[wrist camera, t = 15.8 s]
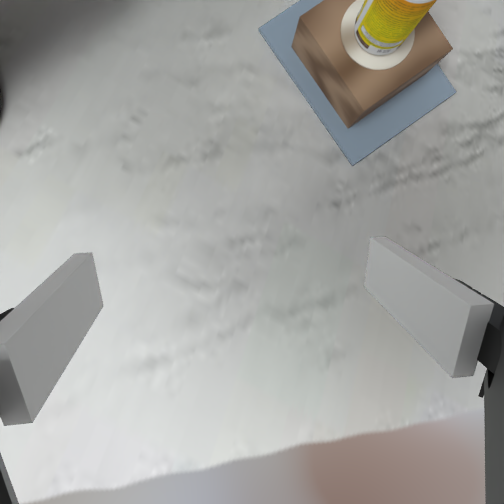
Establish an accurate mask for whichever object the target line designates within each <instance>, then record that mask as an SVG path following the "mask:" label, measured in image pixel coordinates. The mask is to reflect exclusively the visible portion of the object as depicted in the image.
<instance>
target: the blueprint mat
mask: <svg viewBox="0 0 504 504" xmlns="http://www.w3.org/2000/svg"><path fill="white" fill-rule="evenodd" d="M322 1H323V0H300V1H298V2H297V3H295V4H294V5H292V6H291V7H289V8H288V9H287V10H285V11H284V12H282V13H281V14H279V15H278V16H276V17H275V18H273V19H272V20H270V21H269V22H267V23H266V24H264V25H263V26H261V27H260V28H259V32H260V33H261V35H262V36H263V38H264V39H265V41H266V42H267V44H268V45H269V46H270V48H271V49H272V51H273V52H274V54H275V55H276V57H277V58H278V59H279V61H280V62H281V64H282V65H283V67H284V68H285V70H286V71H287V72H288V74H289V75H290V77H291V78H292V80H293V81H294V83H295V84H296V85H297V87H298V88H299V90H300V91H301V93H302V94H303V96H304V97H305V98H306V100H307V101H308V103H309V104H310V106H311V107H312V109H313V110H314V111H315V113H316V114H317V116H318V117H319V119H320V120H321V122H322V123H323V124H324V126H325V127H326V129H327V130H328V132H329V133H330V135H331V136H332V138H333V139H334V140H335V142H336V143H337V145H338V146H339V148H340V149H341V151H342V152H343V153H344V155H345V156H346V158H347V159H348V161H349V162H350V164H351V165H352V166H353V165H354V164H356V163H357V162H359V161H360V160H361V159H363V158H364V157H366V156H367V155H368V154H370V153H371V152H373V151H374V150H375V149H377V148H378V147H380V146H381V145H383V144H384V143H385V142H387V141H388V140H390V139H391V138H392V137H394V136H395V135H397V134H398V133H399V132H401V131H402V130H404V129H405V128H406V127H408V126H409V125H411V124H412V123H414V122H415V121H416V120H418V119H419V118H421V117H422V116H423V115H425V114H426V113H428V112H429V111H430V110H432V109H433V108H435V107H436V106H437V105H439V104H440V103H442V102H443V101H445V100H446V99H447V98H449V97H450V96H452V95H453V94H454V93H456V91H455V89H454V88H453V86H452V85H451V83H450V82H449V80H448V79H447V77H446V76H445V74H444V73H443V71H442V70H441V68H440V67H439V66H438V64H436V65H435V66H434V67H433V68H432V69H431V70H430V71H429V72H427V73H426V74H425V75H424V76H422V77H421V78H420V79H418V80H417V81H415V82H414V83H412V84H411V85H410V86H408V87H407V88H405V89H404V90H402V91H401V92H400V93H398V94H397V95H395V96H394V97H392V98H391V99H390V100H388V101H387V102H385V103H384V104H383V105H381V106H380V107H378V108H377V109H375V110H374V111H373V112H371V113H370V114H368V115H367V116H365V117H364V118H363V119H361V120H360V121H358V122H357V123H356V124H354V125H353V126H351V127H350V128H347V127H346V125H345V124H344V123H343V121H342V120H341V118H340V117H339V115H338V114H337V112H336V111H335V109H334V108H333V107H332V105H331V104H330V102H329V101H328V99H327V98H326V96H325V95H324V93H323V92H322V91H321V89H320V88H319V86H318V85H317V83H316V82H315V80H314V79H313V78H312V76H311V75H310V73H309V72H308V70H307V69H306V67H305V66H304V64H303V63H302V62H301V60H300V59H299V57H298V56H297V54H296V53H295V51H294V50H293V49H292V47H291V46H292V43H293V39H294V35H295V32H296V28H297V24H298V21H299V17H300V16H301V15H303V14H304V13H306V12H307V11H309V10H310V9H312V8H313V7H315V6H316V5H317V4H319V3H320V2H322Z"/></svg>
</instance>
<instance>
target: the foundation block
mask: <svg viewBox="0 0 504 504" xmlns="http://www.w3.org/2000/svg"><path fill="white" fill-rule="evenodd" d="M364 1H365V0H323V1H322V2H320V3H319V4H317V5H316V6H315V7H313V8H312V9H310V10H309V11H307V12H306V13H304V14H303V15H301V16H300V17H299V21H298V24H297V28H296V32H295V35H294V39H293V43H292V46H291V47H292V49H293V50H294V51H295V53H296V54H297V56H298V57H299V59H300V60H301V62H302V63H303V64H304V66H305V67H306V69H307V70H308V72H309V73H310V75H311V76H312V78H313V79H314V80H315V82H316V83H317V85H318V86H319V88H320V89H321V91H322V92H323V93H324V95H325V96H326V98H327V99H328V101H329V102H330V104H331V105H332V107H333V108H334V109H335V111H336V112H337V114H338V115H339V117H340V118H341V120H342V121H343V123H344V124H345V125H346V127H347V128H350V127H351V126H353V125H354V124H356V123H357V122H358V121H360V120H361V119H363V118H364V117H365V116H367V115H368V114H370V113H371V112H373V111H374V110H375V109H377V108H378V107H380V106H381V105H383V104H384V103H385V102H387V101H388V100H390V99H391V98H392V97H394V96H395V95H397V94H398V93H400V92H401V91H402V90H404V89H405V88H407V87H408V86H410V85H411V84H412V83H414V82H415V81H417V80H418V79H420V78H421V77H422V76H424V75H425V74H426V73H427V72H429V71H430V70H431V69H432V68H433V67H434V66H435V65H436V64H437V63H438V62H439V61H440V60H441V59H442V58H444V57H445V56H446V55H447V54H448V53H449V52H450V51H451V50H452V49H453V48H452V47H451V45H450V44H449V42H448V41H447V39H446V38H445V36H444V35H443V33H442V32H441V30H440V29H439V27H438V26H437V24H436V23H435V21H434V20H433V18H432V17H431V15H430V14H429V12H427V13H426V14H425V16H424V17H423V18H422V19H421V21H420V22H419V23H418V24H417V26H416V27H415V28H414V29H413V31H412V32H411V33H410V34H409V36H408V37H407V38H406V39H405V41H404V42H403V43H402V44H401V46H400V47H399V48H398V49H396V50H395V51H394V52H392V53H390V54H387V55H374V54H371V53H368V52H367V51H365V50H364V49H363V48H362V47H361V46H360V45H359V43H358V41H357V39H356V37H355V31H354V26H355V20H356V17H357V15H358V13H359V11H360V9H361V7H362V5H363V3H364Z"/></svg>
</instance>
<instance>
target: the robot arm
mask: <svg viewBox="0 0 504 504" xmlns="http://www.w3.org/2000/svg"><path fill="white" fill-rule="evenodd" d="M0 112H1V91H0ZM364 287H365V288H366V290H367V291H368V292H369V293H370V294H371V295H372V296H373V297H374V298H375V299H376V300H377V301H378V302H379V303H380V304H381V305H382V306H383V307H384V308H385V309H386V310H387V311H388V312H389V313H390V314H391V315H392V316H393V317H394V318H395V319H396V321H397V322H398V323H399V324H400V325H401V326H402V327H403V328H404V329H405V330H406V331H407V332H408V333H409V334H410V335H411V336H412V337H413V338H414V339H415V340H416V341H417V342H418V343H419V344H420V345H421V346H422V347H423V348H424V349H425V351H426V352H427V353H428V354H429V355H430V356H431V357H432V358H433V359H434V360H435V361H436V362H437V363H438V364H439V365H440V366H441V367H442V368H443V369H444V370H445V371H446V372H447V373H448V374H449V375H450V376H451V377H452V378H457V377H467V376H473V375H474V372H475V368H476V365H477V361H479V362H481V363H482V364H483V365H484V366H485V367H486V368H487V370H486V374H485V377H484V380H483V383H482V387H481V390H480V393H479V397H482V398H483V396H484V408H485V486H486V504H504V307H503V306H501V305H500V304H498V303H496V302H495V301H493V300H491V299H490V298H488V297H487V296H485V295H483V294H481V293H480V292H478V291H477V290H475V289H472V287H470V286H468V285H467V284H465V283H464V282H462V281H459V280H457V279H454V278H452V277H450V276H448V275H447V274H445V273H444V272H442V271H440V270H439V269H437V268H435V267H434V266H432V265H431V264H429V263H427V262H426V261H424V260H423V259H421V258H419V257H418V256H416V255H414V254H413V253H411V252H410V251H408V250H406V249H405V248H403V247H401V246H400V245H398V244H397V243H395V242H393V241H392V240H390V239H389V238H387V237H385V236H381V237H370V243H369V251H368V259H367V267H366V276H365V284H364ZM102 308H103V301H102V297H101V292H100V287H99V282H98V277H97V273H96V268H95V263H94V258H93V254H92V253H76V254H73V255H72V256H71V257H70V258H69V259H68V260H67V261H66V262H65V263H64V264H62V265H61V266H60V267H59V268H58V269H57V270H56V271H55V272H54V273H53V274H52V275H50V276H49V277H48V278H47V279H46V280H45V281H44V282H43V283H42V284H41V285H39V286H38V287H37V288H36V289H35V290H34V291H33V292H32V293H31V294H30V295H29V296H27V297H26V298H25V299H24V300H23V301H22V302H21V303H20V304H19V305H18V306H16V307H15V308H11V309H9V310H7V311H5V312H3V313H2V314H0V417H1V419H2V422H3V424H4V426H7V425H16V424H26V423H33V421H34V419H35V418H36V416H37V415H38V413H39V411H40V410H41V408H42V406H43V405H44V403H45V401H46V400H47V398H48V396H49V395H50V393H51V392H52V390H53V388H54V387H55V385H56V383H57V382H58V380H59V378H60V377H61V375H62V373H63V372H64V370H65V368H66V367H67V365H68V364H69V362H70V360H71V359H72V357H73V355H74V354H75V352H76V350H77V349H78V347H79V345H80V344H81V342H82V340H83V339H84V337H85V336H86V334H87V332H88V331H89V329H90V327H91V326H92V324H93V322H94V321H95V319H96V317H97V316H98V314H99V313H100V311H101V309H102ZM0 504H19V503H18V500H17V497H16V495H15V492H14V489H13V486H12V484H11V481H10V478H9V475H8V473H7V470H6V467H5V464H4V462H3V459H2V456H1V453H0Z"/></svg>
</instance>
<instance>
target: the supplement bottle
mask: <svg viewBox="0 0 504 504" xmlns="http://www.w3.org/2000/svg"><path fill="white" fill-rule="evenodd" d="M435 2H436V0H365V1H364V3H363V5H362V7H361V9H360V11H359V13H358V15H357V17H356V20H355V26H354V31H355V37H356V39H357V41H358V43H359V45H360V46H361V47H362V48H363V49H364V50H365V51H367V52H368V53H371V54H374V55H387V54H390V53H392V52H394V51H395V50H396V49H398V48H399V47H400V46H401V44H402V43H403V42H404V41H405V39H406V38H407V37H408V36H409V34H410V33H411V32H412V31H413V29H414V28H415V27H416V26H417V24H418V23H419V22H420V21H421V19H422V18H423V17H424V16H425V14H426V13H427V12H428V11H429V9H430V8H431V7H432V5H433V4H434V3H435Z"/></svg>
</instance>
